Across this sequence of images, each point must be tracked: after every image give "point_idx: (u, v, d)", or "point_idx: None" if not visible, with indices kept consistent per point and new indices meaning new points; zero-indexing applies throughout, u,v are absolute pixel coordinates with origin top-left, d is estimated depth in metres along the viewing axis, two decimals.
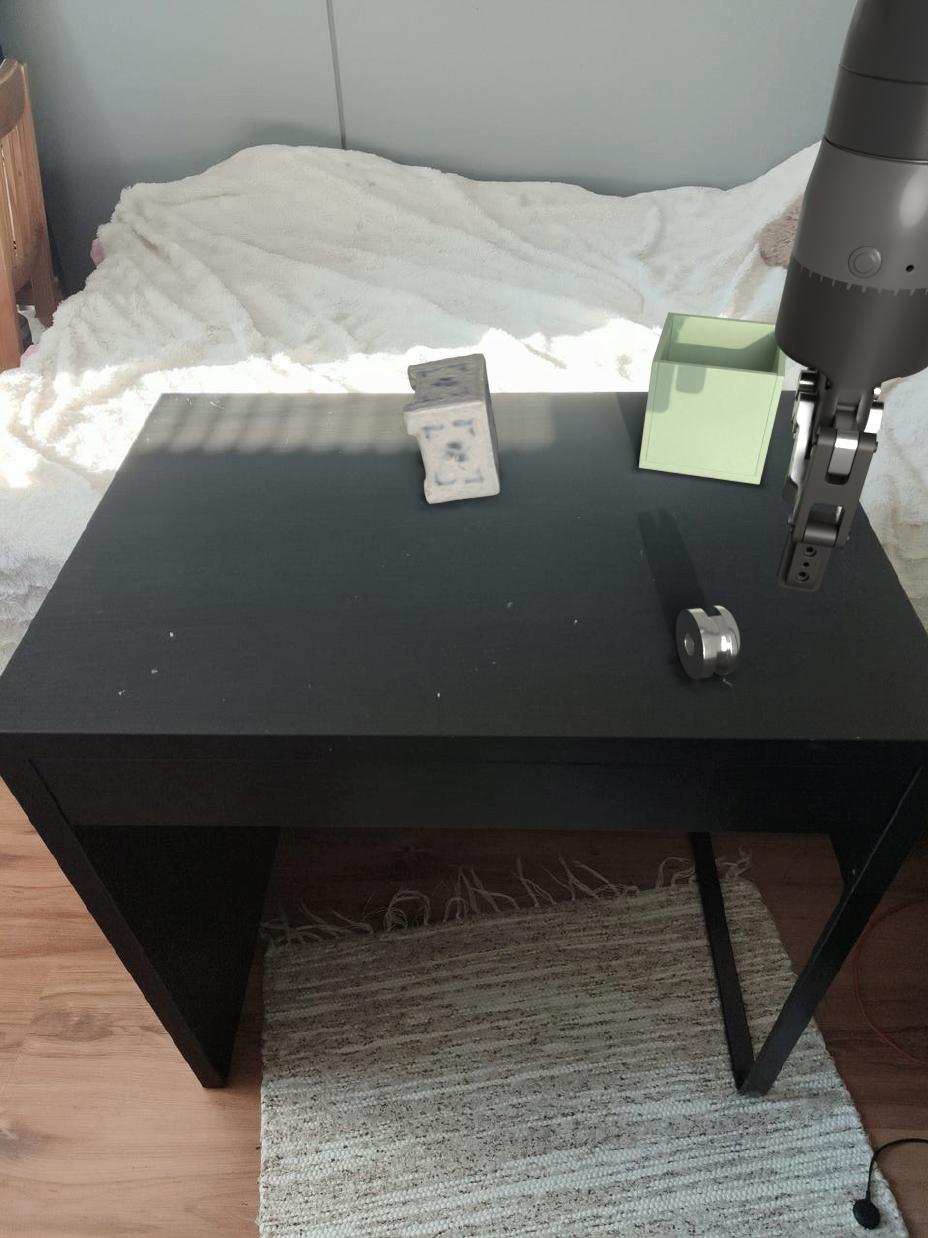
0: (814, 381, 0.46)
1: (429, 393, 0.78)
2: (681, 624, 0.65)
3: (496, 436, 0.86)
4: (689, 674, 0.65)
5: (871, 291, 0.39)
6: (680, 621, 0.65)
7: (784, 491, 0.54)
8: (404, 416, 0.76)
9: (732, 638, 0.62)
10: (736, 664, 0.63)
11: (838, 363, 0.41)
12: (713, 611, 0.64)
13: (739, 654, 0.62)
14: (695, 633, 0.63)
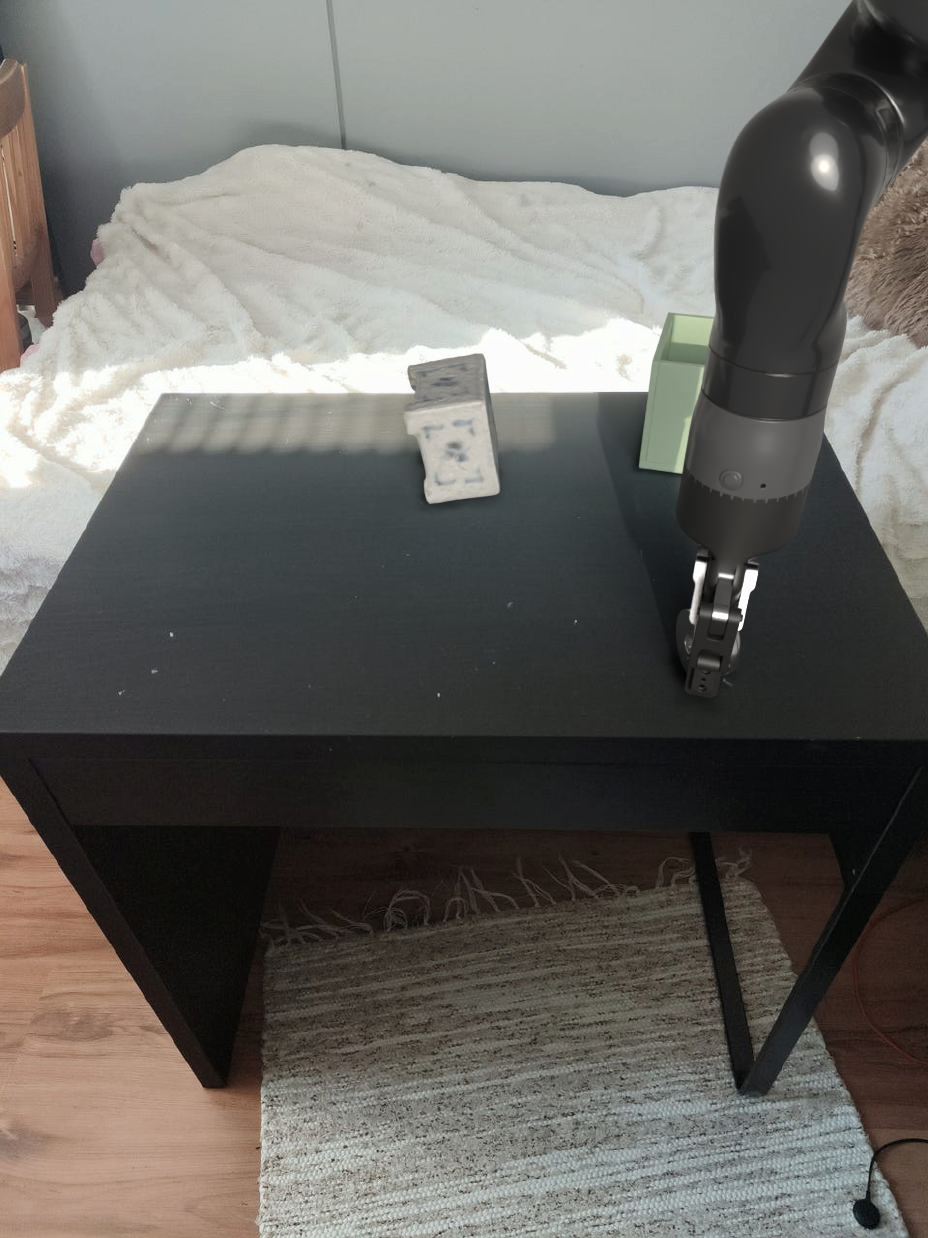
0: None
1: (429, 393, 0.78)
2: (681, 624, 0.65)
3: (496, 436, 0.86)
4: None
5: (737, 499, 0.52)
6: (680, 621, 0.65)
7: None
8: (404, 416, 0.76)
9: None
10: (736, 664, 0.63)
11: (718, 544, 0.55)
12: None
13: (739, 654, 0.62)
14: None
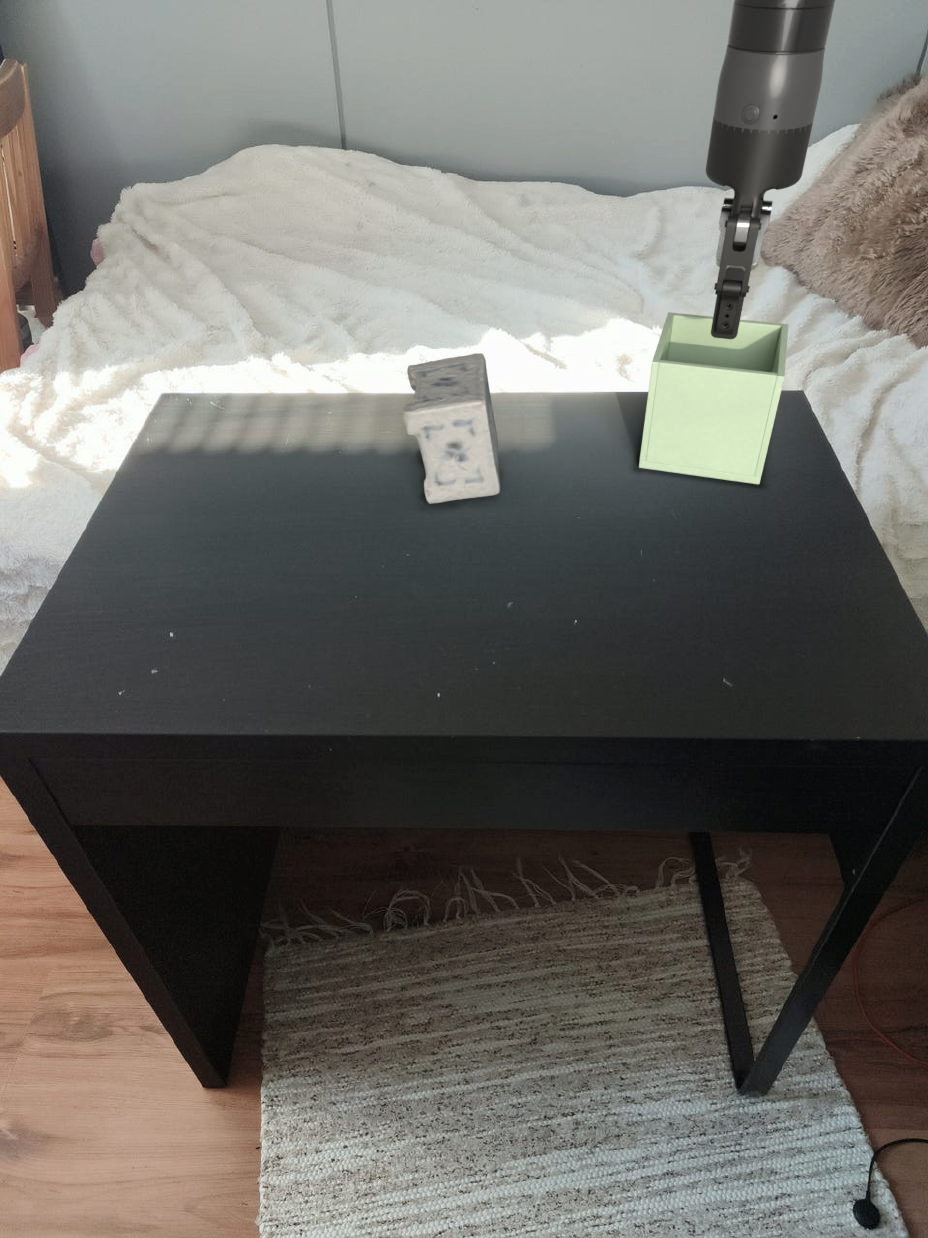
0: (732, 203, 0.75)
1: (429, 393, 0.78)
2: None
3: (496, 436, 0.86)
4: None
5: (755, 132, 0.68)
6: None
7: None
8: (404, 416, 0.76)
9: None
10: None
11: (740, 179, 0.70)
12: None
13: None
14: None
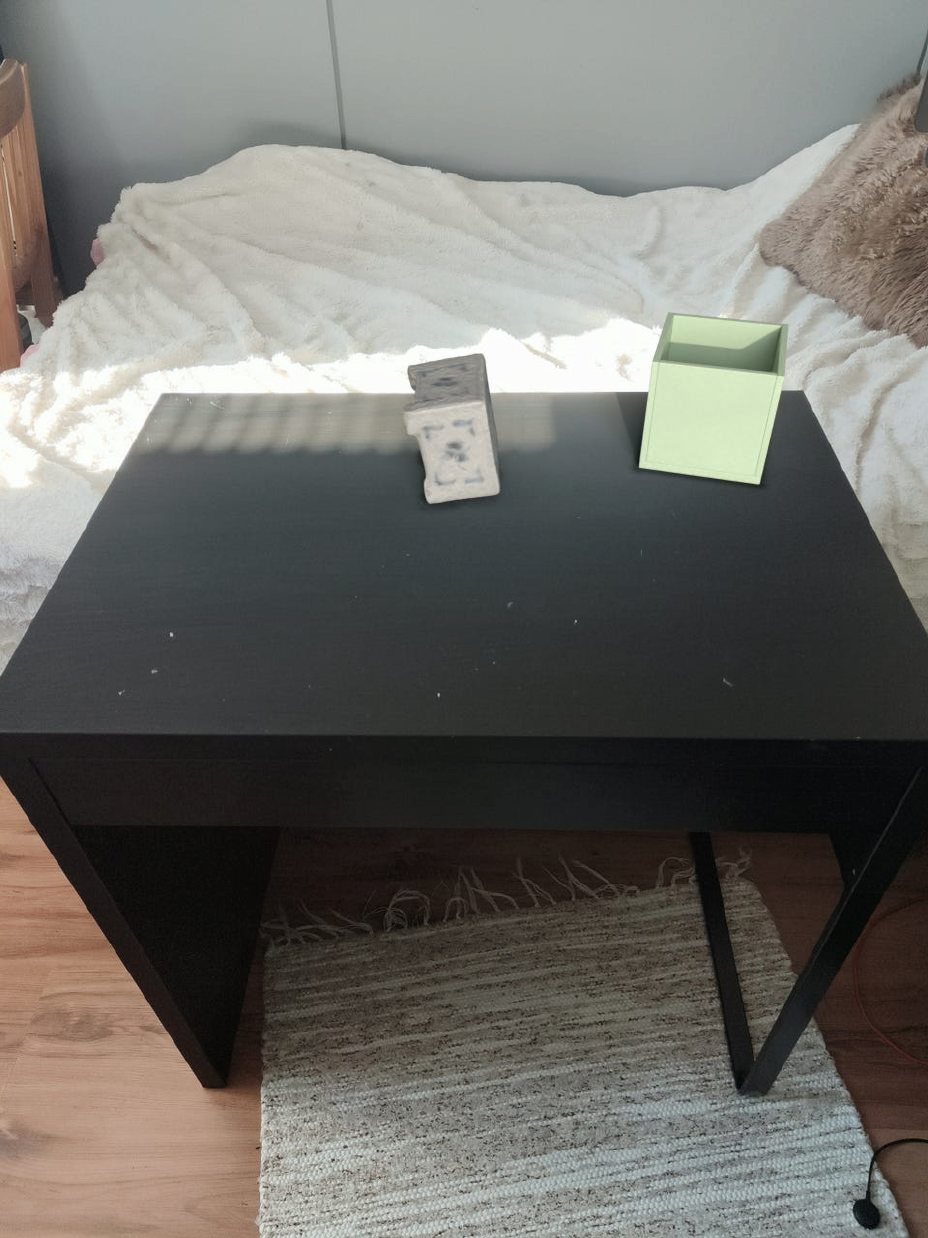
0: None
1: (429, 393, 0.78)
2: None
3: (496, 436, 0.86)
4: None
5: None
6: None
7: (916, 118, 0.54)
8: (404, 416, 0.76)
9: None
10: None
11: None
12: None
13: None
14: None
